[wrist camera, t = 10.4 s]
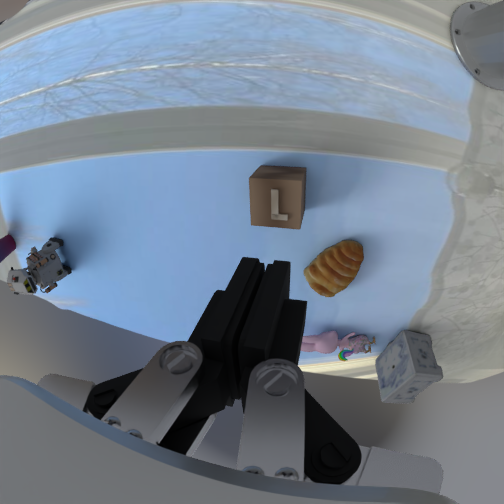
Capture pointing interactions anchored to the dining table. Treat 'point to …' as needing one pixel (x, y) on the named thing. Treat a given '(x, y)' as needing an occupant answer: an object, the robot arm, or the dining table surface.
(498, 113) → the dining table surface
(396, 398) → the incense holder
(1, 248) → the cup
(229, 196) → the dining table surface
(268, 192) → the lettered block
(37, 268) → the figurine
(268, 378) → the robot arm
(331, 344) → the rabbit figure
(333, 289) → the pastry
